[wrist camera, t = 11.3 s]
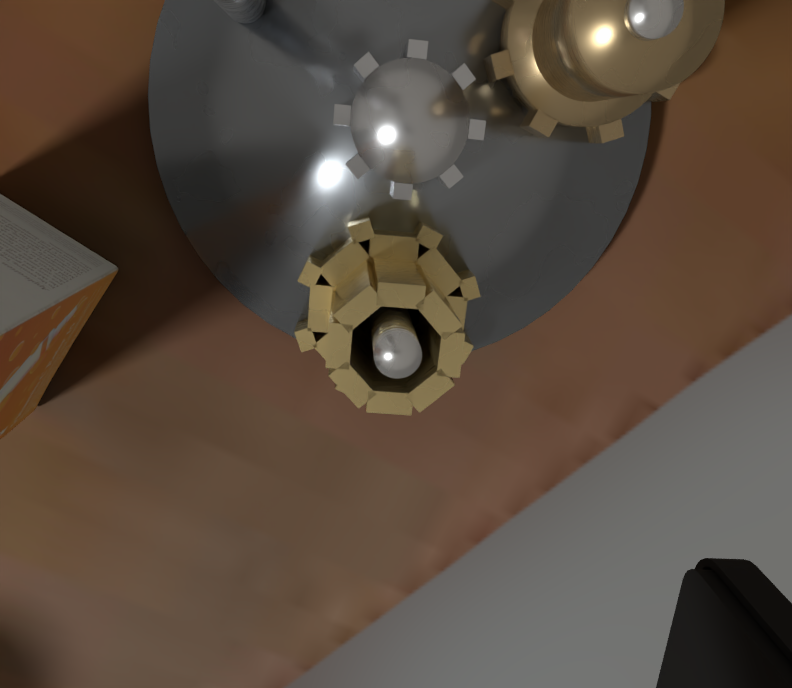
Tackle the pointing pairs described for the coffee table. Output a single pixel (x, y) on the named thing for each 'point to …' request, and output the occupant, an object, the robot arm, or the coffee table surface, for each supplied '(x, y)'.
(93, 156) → the coffee table surface
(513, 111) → the carrier
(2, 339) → the small box
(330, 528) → the coffee table surface
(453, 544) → the coffee table surface
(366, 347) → the gear
